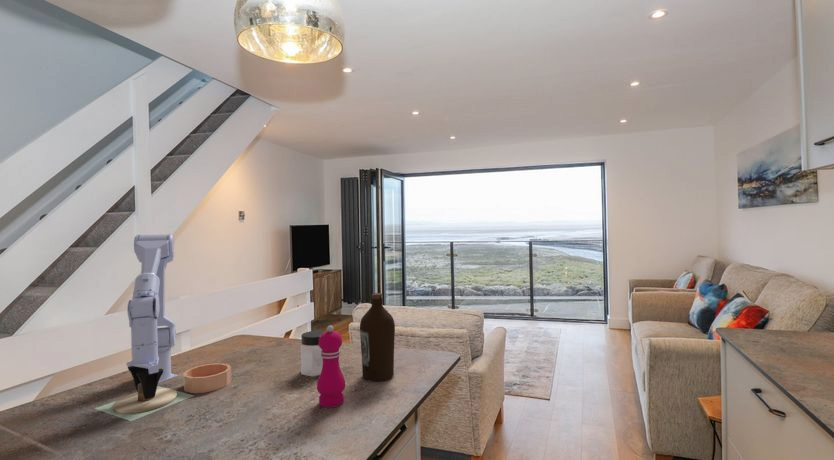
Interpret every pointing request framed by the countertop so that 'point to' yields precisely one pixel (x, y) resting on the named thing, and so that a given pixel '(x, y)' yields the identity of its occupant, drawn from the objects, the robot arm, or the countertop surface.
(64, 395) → the countertop surface
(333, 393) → the pepper mill
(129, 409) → the lid
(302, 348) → the jar
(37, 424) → the countertop surface
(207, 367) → the bowl
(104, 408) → the mat
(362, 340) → the olive oil
